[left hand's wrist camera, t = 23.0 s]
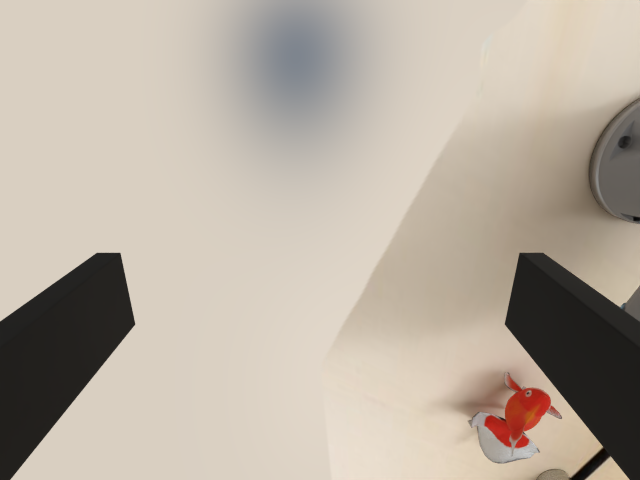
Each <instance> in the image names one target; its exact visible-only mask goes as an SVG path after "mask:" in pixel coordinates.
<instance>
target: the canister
mask: <svg viewBox="0 0 640 480" xmlns="http://www.w3.org/2000/svg"><path fill="white" fill-rule="evenodd" d="M537 480H571V478H570V477H569V475H568V474H567V473H566V472H565V471H562V470H558V469H554V470H549V471H546V472H544V473H542V474H541V475H540V476H539V477H538V478H537Z"/></svg>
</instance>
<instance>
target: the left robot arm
mask: <svg viewBox="0 0 640 480" xmlns="http://www.w3.org/2000/svg"><path fill="white" fill-rule="evenodd" d="M589 178H590V186H591V189H592V193H593V195H594V197H595V199H596V200H597V202H598V203H599V205H600V206H601V207H602V208H603V209H604V210H606V211H607V212H608V213H610V214H612V215H614V216H616V217H618V218H621V219H623V220H626V221H628V222H632V223H637V224H640V99H638V100H637V101H635V102H633V103H632V104H631V105H629V106H628V107H626V108H625V109H624V110H623V111H622V112H620V113H619V114H618V115H617V116H616V117H615V118H614V119H613V120H612V122H611V123H610V124H609V125H608V126H607V128H606V129H605V130H604V132H603V134H602V135H601V137H600V139H599V140H598V142H597V144H596V147H595V149H594V152H593V155H592V158H591V163H590V171H589ZM134 325H135V321H134V316H133V311H132V307H131V302H130V297H129V292H128V287H127V283H126V278H125V273H124V268H123V263H122V259H121V254H120V253H96V254H95V255H93V256H92V257H91V258H89V259H88V260H86V261H85V262H84V263H82V264H81V265H79V266H78V267H76V268H75V269H74V270H72V271H71V272H69V273H68V274H67V275H65V276H64V277H62V278H61V279H60V280H58V281H57V282H55V283H54V284H52V285H51V286H50V287H48V288H47V289H45V290H44V291H43V292H41V293H40V294H38V295H37V296H36V297H34V298H33V299H31V300H30V301H29V302H27V303H26V304H24V305H23V306H21V307H20V308H19V309H17V310H16V311H14V312H13V313H12V314H10V315H9V316H7V317H6V318H5V319H3V320H2V321H0V480H10V479H11V478H12V477H13V476H14V474H15V473H16V472H17V471H18V469H19V468H20V467H21V466H22V464H23V463H24V462H25V461H26V459H27V458H28V457H29V456H30V454H31V453H32V452H33V451H34V449H35V448H36V447H37V446H38V445H39V443H40V442H41V441H42V440H43V438H44V437H45V436H46V435H47V433H48V432H49V431H50V430H51V428H52V427H53V426H54V425H55V423H56V422H57V421H58V420H59V418H60V417H61V416H62V415H63V413H64V412H65V411H66V410H67V408H68V407H69V406H70V405H71V404H72V402H73V401H74V400H75V398H76V397H77V396H78V395H79V394H80V392H81V391H82V390H83V389H84V387H85V386H86V385H87V384H88V382H89V381H90V380H91V379H92V377H93V376H94V375H95V374H96V372H97V371H98V370H99V369H100V367H101V366H102V365H103V364H104V362H105V361H106V360H107V359H108V358H109V356H110V355H111V354H112V352H113V351H114V350H115V349H116V348H117V346H118V345H119V344H120V343H121V341H122V340H123V339H124V338H125V336H126V335H127V334H128V333H129V331H130V330H131V329H132V328H133V326H134ZM505 325H506V326H507V328H508V329H509V330H510V331H511V333H512V334H513V335H514V336H515V338H516V339H517V340H518V341H519V343H520V344H521V345H522V346H523V348H524V349H525V350H526V351H527V353H528V354H529V355H530V356H531V358H532V359H533V360H534V361H535V363H536V364H537V365H538V366H539V367H540V369H541V370H542V371H543V372H544V374H545V375H546V376H547V377H548V379H549V380H550V381H551V382H552V384H553V385H554V386H555V387H556V389H557V390H558V391H559V392H560V394H561V395H562V396H563V397H564V399H565V400H566V401H567V402H568V404H569V405H570V406H571V407H572V408H573V410H574V411H575V412H576V413H577V415H578V416H579V417H580V418H581V420H582V421H583V422H584V423H585V425H586V426H587V427H588V428H589V430H590V431H591V432H592V433H593V435H594V436H595V437H596V438H597V440H598V441H599V442H600V443H601V445H602V446H603V447H604V448H605V450H606V451H607V452H608V453H609V454H610V456H611V457H612V458H613V459H614V461H615V462H616V463H617V464H618V466H619V467H620V468H621V469H622V471H623V472H624V473H625V474H626V476H627V477H628V478H629V479H630V480H640V286H639V287H638V289H637V290H636V291H635V292H634V294H633V295H632V296H631V298H630V299H629V300H628V301H627V303H624V304H622V306H621V307H619V306H617V305H616V304H614V303H613V302H611V301H610V300H609V299H607V298H606V297H604V296H603V295H602V294H600V293H599V292H597V291H596V290H595V289H593V288H592V287H590V286H589V285H588V284H586V283H585V282H583V281H582V280H580V279H579V278H578V277H576V276H575V275H573V274H572V273H571V272H569V271H568V270H566V269H565V268H564V267H562V266H561V265H559V264H558V263H557V262H555V261H554V260H552V259H551V258H549V257H548V256H547V255H545V254H544V253H520V254H519V259H518V263H517V268H516V273H515V278H514V283H513V287H512V292H511V297H510V302H509V307H508V311H507V316H506V321H505Z"/></svg>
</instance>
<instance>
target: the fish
mask: <svg viewBox="0 0 640 480" xmlns="http://www.w3.org/2000/svg"><path fill="white" fill-rule="evenodd" d="M504 381H505V385H506V386H507V387H509V388H510V389H511V390H513V391H515V392H517V393H515V394H514V395H513V396H512V397H511V398H510V399H509V400H508V402H507V405H506V408H505V419H506V420H505V419H503V418H501V417H498V416H495V415H493V414H489V413H483V412H478V413H477V414H476V415H475V416H474V417H473V418H472V420H469V421H468V422H469V424H470V426H471V427H474V426H477V427H478V435H479V443H480V446H481V448H482V450H483V452H484V454H485V456H486V457H487V458H488V459H490V460H491V461H492V462H495V463H507V462H512V461H516V460H520V459H526V458H530V457H531V456H532V455H533V454H534V453H537V452H539V450H538V448H537V447H536V446H535V444H534V443H533V442H532V441H531V440H530V439H529V437H528V436H527V435H526V434H525V433H524V432H523V431H527V430H529V429H531V428H533V427H534V426H535V425H536V424H537V423H538V422H539V421H540V419H541V417H542V416H543V415H544V414H545V412H547V413H549V414H551V415H553V416H555V417H557V418H559V419H562V417H561V415H560V413H559V412H558V411H557V410H556V409H555V408H554V407H553V406H551V400H550V397H549V395H548V394H547V393H546V392H544V391H543V390H541V389H538V388H525V387H523V388H522V389H521V388H520V387H519V386H518V385H517V384H516V383H515V382H514V381H513V380H512V379H511V377H510V376H509V373H505V375H504Z"/></svg>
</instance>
